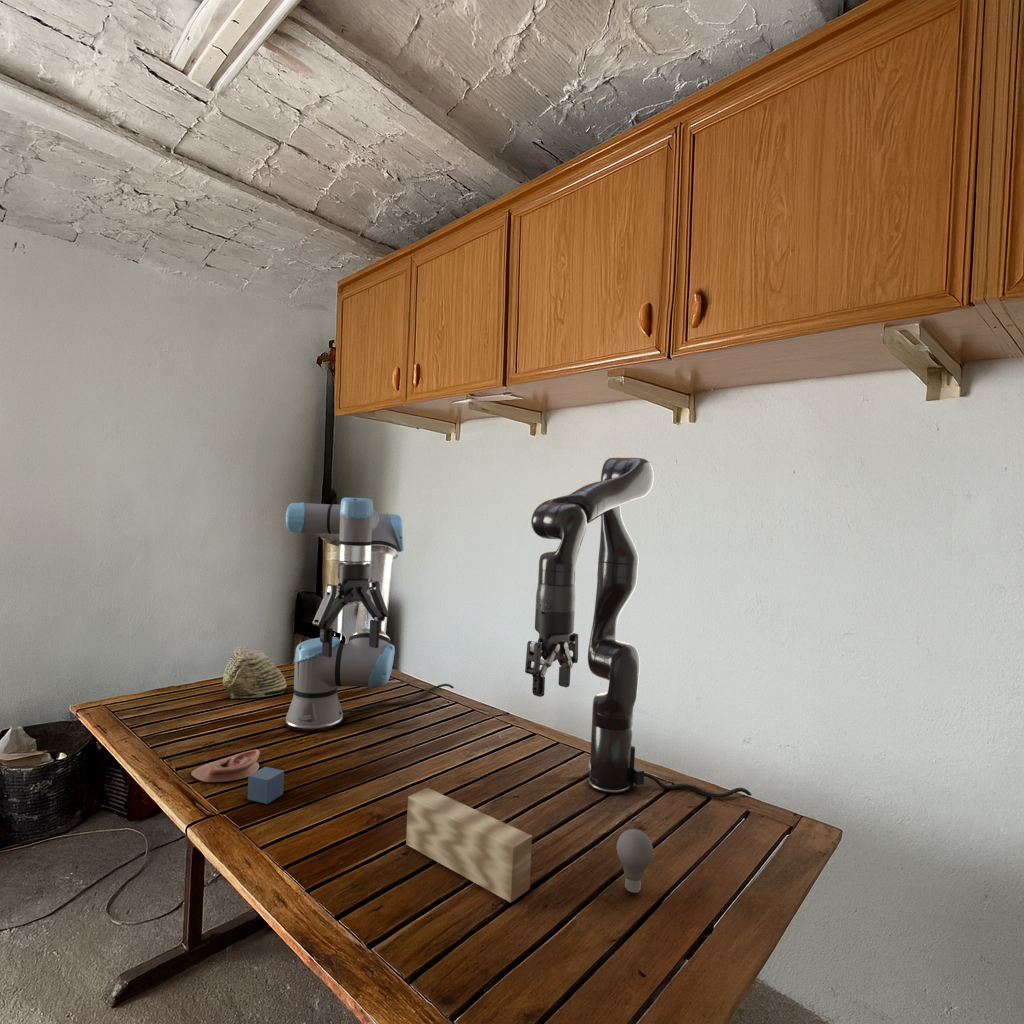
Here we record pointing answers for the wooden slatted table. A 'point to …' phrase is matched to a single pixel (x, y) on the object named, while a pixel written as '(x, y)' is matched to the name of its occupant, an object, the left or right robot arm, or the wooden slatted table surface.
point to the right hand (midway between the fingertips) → (551, 691)
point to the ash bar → (470, 843)
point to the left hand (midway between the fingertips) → (351, 651)
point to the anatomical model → (229, 768)
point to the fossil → (252, 674)
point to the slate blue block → (265, 785)
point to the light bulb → (634, 857)
